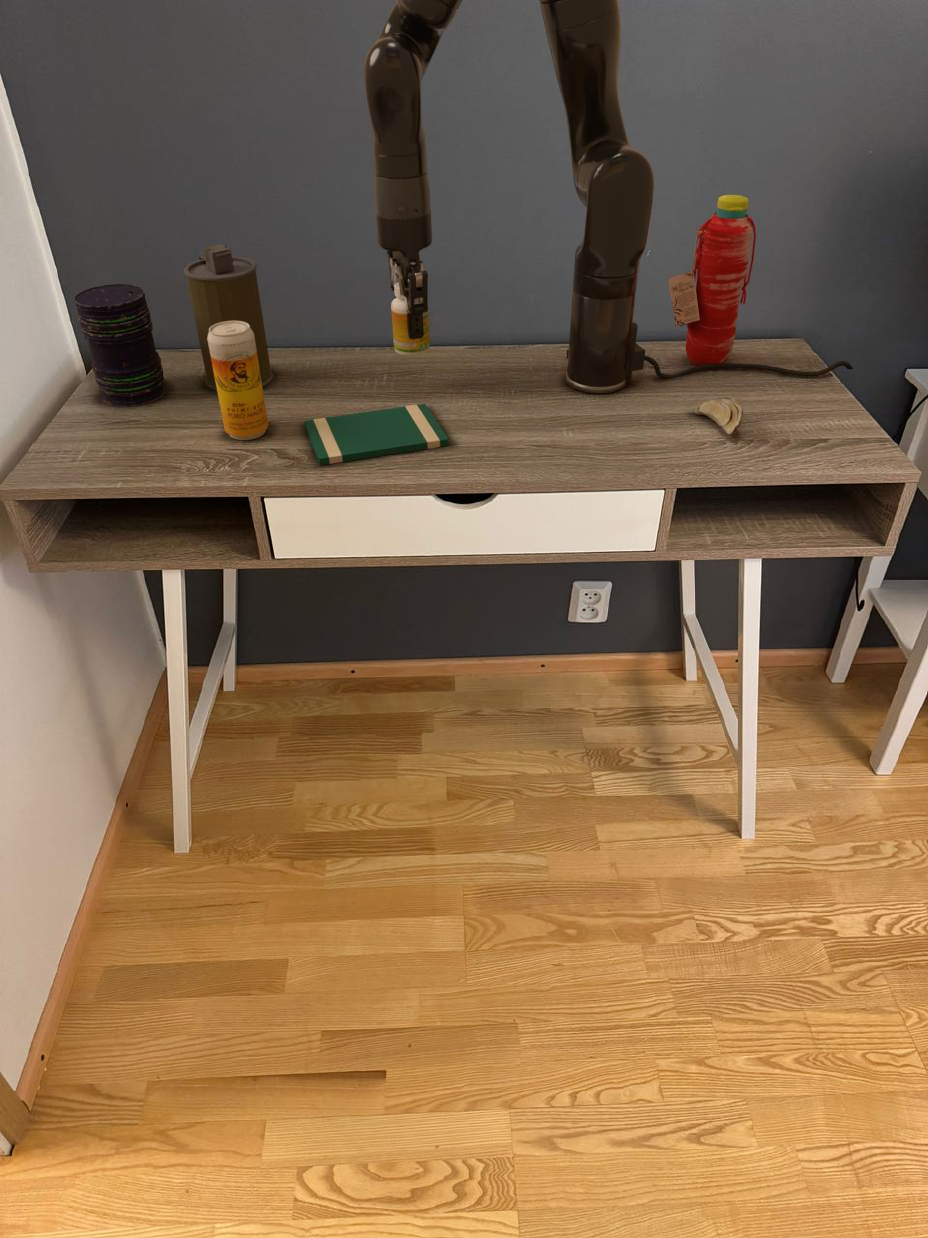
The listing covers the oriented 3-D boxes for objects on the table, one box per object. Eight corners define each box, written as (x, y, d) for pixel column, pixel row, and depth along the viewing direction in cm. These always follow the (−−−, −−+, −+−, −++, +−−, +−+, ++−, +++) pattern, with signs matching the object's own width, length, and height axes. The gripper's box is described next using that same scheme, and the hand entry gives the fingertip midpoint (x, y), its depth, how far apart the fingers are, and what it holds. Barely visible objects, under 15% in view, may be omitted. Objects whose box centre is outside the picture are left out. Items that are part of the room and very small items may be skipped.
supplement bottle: (425, 357, 131) (421, 291, 125) (390, 355, 132) (384, 289, 125) (433, 344, 135) (430, 279, 129) (399, 342, 136) (394, 277, 130)
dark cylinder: (104, 411, 131) (76, 310, 122) (97, 386, 138) (69, 289, 129) (172, 399, 134) (150, 300, 125) (162, 375, 141) (140, 280, 132)
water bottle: (665, 372, 141) (689, 203, 125) (655, 353, 147) (677, 190, 132) (740, 371, 141) (773, 202, 125) (727, 351, 147) (757, 189, 132)
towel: (425, 409, 131) (425, 402, 130) (449, 445, 122) (449, 438, 121) (304, 426, 127) (303, 420, 126) (319, 465, 118) (319, 458, 117)
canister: (284, 382, 139) (265, 249, 126) (221, 399, 134) (195, 262, 122) (255, 360, 146) (235, 232, 133) (195, 375, 141) (168, 244, 129)
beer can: (232, 445, 122) (212, 339, 113) (220, 427, 126) (200, 324, 117) (274, 435, 124) (258, 330, 115) (261, 419, 129) (245, 316, 119)
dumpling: (702, 448, 130) (751, 438, 121) (683, 437, 128) (732, 426, 119) (714, 412, 130) (764, 399, 121) (696, 400, 129) (745, 386, 120)
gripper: (444, 219, 116) (448, 344, 127) (416, 194, 127) (422, 311, 138) (389, 225, 115) (398, 351, 125) (365, 199, 125) (375, 317, 136)
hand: (410, 330), depth 131 cm, fingers closed on supplement bottle, 5 cm apart
